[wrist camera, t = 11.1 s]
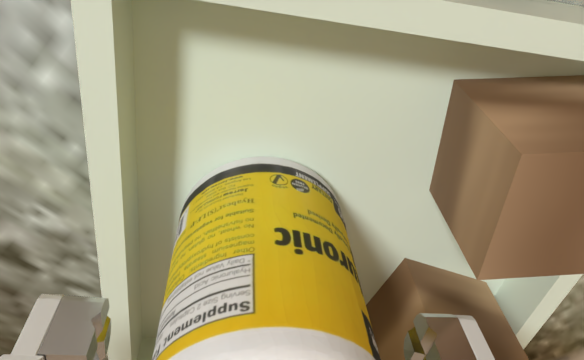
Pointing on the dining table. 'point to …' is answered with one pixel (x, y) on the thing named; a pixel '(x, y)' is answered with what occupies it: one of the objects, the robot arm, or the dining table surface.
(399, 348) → the walnut block
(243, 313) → the supplement bottle
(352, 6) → the tray
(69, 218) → the dining table surface
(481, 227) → the walnut block
